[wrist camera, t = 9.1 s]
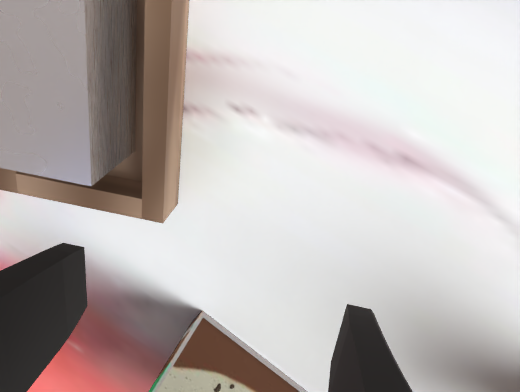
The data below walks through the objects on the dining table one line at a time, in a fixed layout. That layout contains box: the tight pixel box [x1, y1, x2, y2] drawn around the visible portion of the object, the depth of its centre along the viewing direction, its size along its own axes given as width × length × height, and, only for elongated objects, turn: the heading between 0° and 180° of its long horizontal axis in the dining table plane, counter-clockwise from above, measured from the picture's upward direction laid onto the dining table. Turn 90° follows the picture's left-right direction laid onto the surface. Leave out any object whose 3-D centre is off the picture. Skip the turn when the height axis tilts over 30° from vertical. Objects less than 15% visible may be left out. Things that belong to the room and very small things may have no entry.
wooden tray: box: [0, 0, 189, 223], centre depth 18 cm, size 8×13×2 cm, turn 173°
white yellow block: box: [0, 0, 137, 186], centre depth 17 cm, size 4×8×4 cm, turn 173°
